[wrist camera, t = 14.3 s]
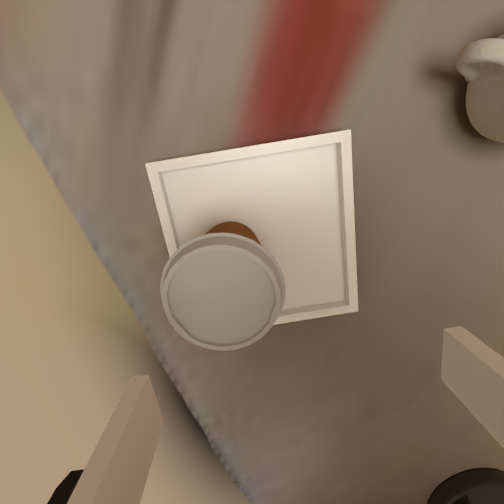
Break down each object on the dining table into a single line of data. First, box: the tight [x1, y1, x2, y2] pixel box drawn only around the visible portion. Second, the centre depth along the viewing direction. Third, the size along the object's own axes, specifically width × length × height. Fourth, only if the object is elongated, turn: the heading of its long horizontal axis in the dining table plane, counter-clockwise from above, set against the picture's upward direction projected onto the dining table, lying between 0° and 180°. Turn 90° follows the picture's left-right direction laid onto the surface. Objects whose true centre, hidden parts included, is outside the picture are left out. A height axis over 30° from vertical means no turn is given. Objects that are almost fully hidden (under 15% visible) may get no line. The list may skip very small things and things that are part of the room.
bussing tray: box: [145, 130, 358, 325], centre depth 32 cm, size 20×20×2 cm
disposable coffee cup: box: [160, 221, 286, 351], centre depth 26 cm, size 10×10×12 cm
